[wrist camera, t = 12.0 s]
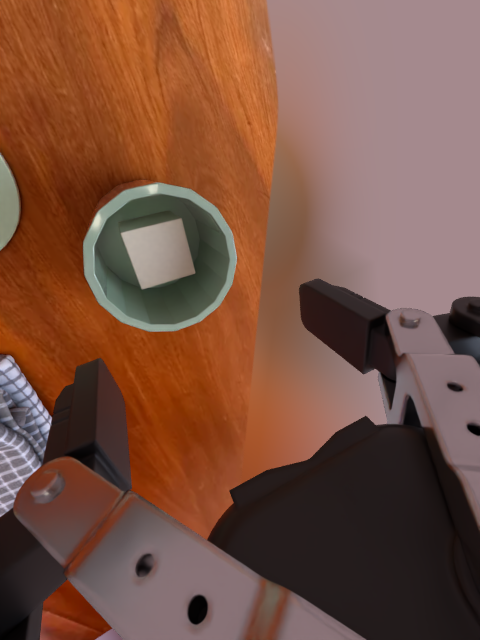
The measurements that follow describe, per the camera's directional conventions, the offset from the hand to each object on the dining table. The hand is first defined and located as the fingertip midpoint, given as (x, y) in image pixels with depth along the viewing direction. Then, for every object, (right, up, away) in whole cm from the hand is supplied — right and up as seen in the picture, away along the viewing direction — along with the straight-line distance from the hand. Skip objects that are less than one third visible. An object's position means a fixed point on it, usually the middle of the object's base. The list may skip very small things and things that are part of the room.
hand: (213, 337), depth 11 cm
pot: (-7, +8, +15) cm, 18 cm away
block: (-7, +8, +14) cm, 18 cm away
